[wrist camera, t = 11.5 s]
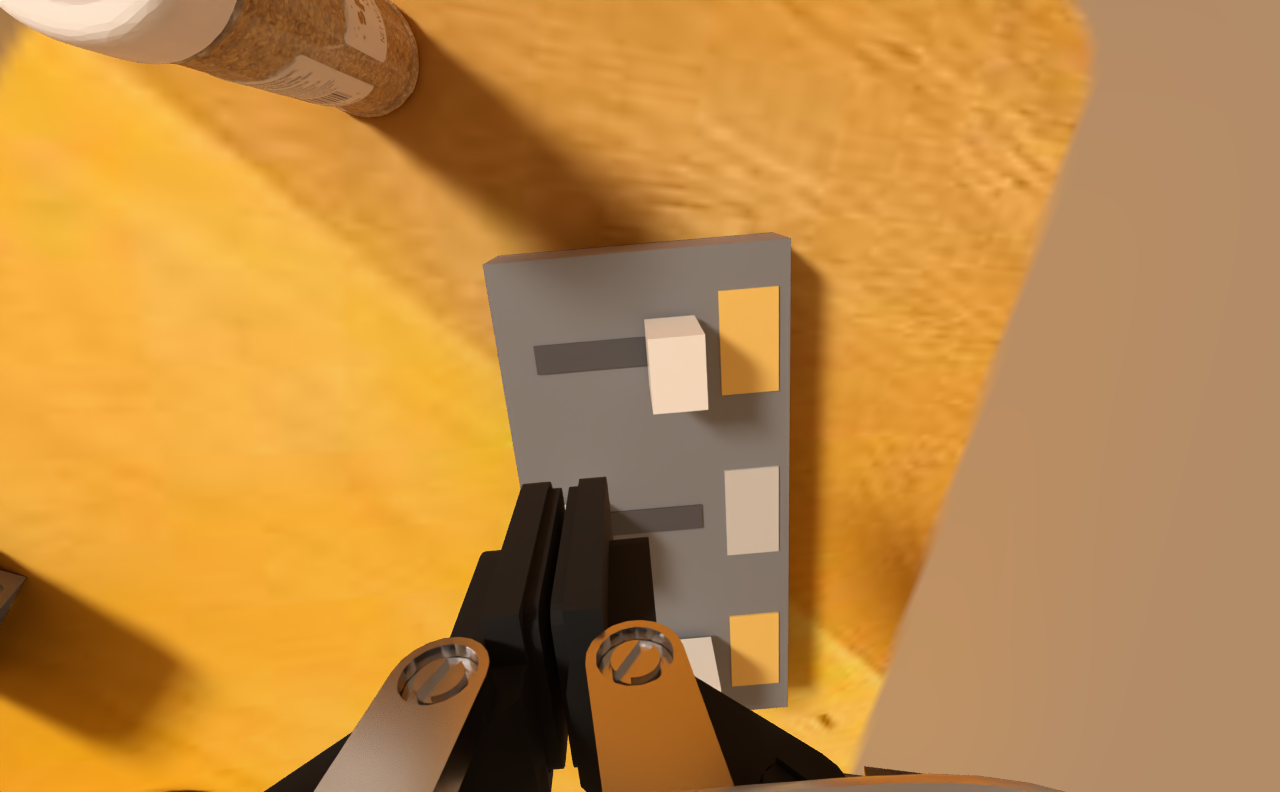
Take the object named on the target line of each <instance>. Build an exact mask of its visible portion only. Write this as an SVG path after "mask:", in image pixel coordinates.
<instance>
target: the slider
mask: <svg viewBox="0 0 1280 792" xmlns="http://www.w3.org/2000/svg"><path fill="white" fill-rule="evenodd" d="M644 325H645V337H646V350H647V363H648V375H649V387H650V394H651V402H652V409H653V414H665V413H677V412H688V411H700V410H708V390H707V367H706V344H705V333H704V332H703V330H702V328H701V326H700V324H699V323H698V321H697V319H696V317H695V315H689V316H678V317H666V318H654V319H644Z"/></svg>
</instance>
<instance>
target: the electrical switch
mask: <svg viewBox="0 0 1280 792" xmlns="http://www.w3.org/2000/svg"><path fill="white" fill-rule="evenodd" d="M26 578H27V577H25V576H21V575H17V574H13V573H9V572H5V571H1V570H0V625H1V623H2V621H3V619H4V617H5V615H6V613H7V612H8V610H9V608H10V606H11V604H12V602H13V600H14V598H15V597H16V595H17V593H18V591H19V589H20V587H21V585H22V584H23V582H24V580H25V579H26Z"/></svg>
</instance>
